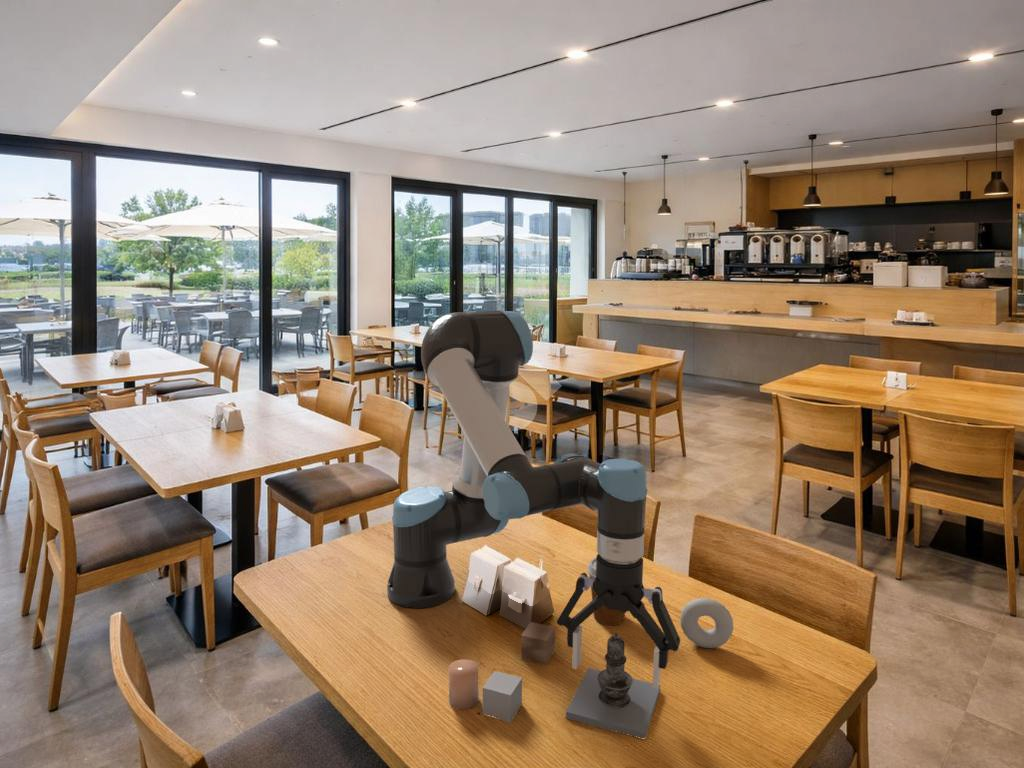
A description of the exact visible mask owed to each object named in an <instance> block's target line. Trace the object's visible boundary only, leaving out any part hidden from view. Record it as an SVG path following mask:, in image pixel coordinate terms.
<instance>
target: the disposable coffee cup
mask: <svg viewBox="0 0 1024 768" xmlns="http://www.w3.org/2000/svg"><path fill="white" fill-rule="evenodd" d="M586 570H587V572H588V573H587V574H588V576H589V577H590V578H593V579H596V557H594V558H592V559H591V560H590V562H589V564H588V566H587V569H586ZM590 591H591V601H592V600H593V599H595V598H596V596H597V594H596V592H595V591H594V589H593V587H590ZM625 615H626V613H624V612H620V611H618V610H610V609H607V607H606V606H604V605H602V606H601V607H600V608H599V609H598V610H596V611H595V612H594V613H593V618H594V620H595V621H596V622H598V623H599V624H602V625H606V626H616V625H619V624H622V623H624V620H625Z"/></svg>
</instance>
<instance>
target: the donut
mask: <svg viewBox="0 0 1024 768" xmlns="http://www.w3.org/2000/svg"><path fill="white" fill-rule="evenodd" d="M730 612H731V611H729V610H728V609H727V607H726V606H725V605H724V604H722V603H721V602H720V601H717V600H716V599H713V598H709V597H699V598H698V597H697V598H693V599H692V600H690V601H688V603H686V604H685V605H684V607H683V608H682V610H681V612H680V617H679V620H680V627H681V629H682V631H683V634H684V635H685V636H686V638H687V639H688V640H689V641H690V642H692V643H693V644H695V645H697V646H699V647H701V648H703V649H706V648H707V649H714V648H718V647H722V646H723V645H725V644H726V643H727V642H728V641H729V640H730V639H731V637H732V636H733V632H734V631H733V630H734V628H735V627H734V619H733V617H732V615H731V613H730ZM704 616H705V617H706V616H707V617H709V618H711V619H712V620H713V621H714V623H715V625H714V627H713V628H711V629H704V628H703V627H701V625H699V619H700V618H702V617H704Z"/></svg>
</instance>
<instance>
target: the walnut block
mask: <svg viewBox="0 0 1024 768" xmlns="http://www.w3.org/2000/svg"><path fill="white" fill-rule="evenodd" d="M520 638H521V639H520V641H521V642H520V644H521V646H520V647H521V649H520V651H521V653H520V659H521V660H524V661H527V662H531V663H532V662H533V663H537V664H541V665H545V666H547V664H548V663H549V662H550V660H551V658H552V656H553V655H554V653H555V652H556V651H555V650H556V627H555V626H550V625H546V624H541V623H537V622H532V621H530V622H529V624H528V625H527V627H526V628H525V629H524V631H523V632H521V635H520Z"/></svg>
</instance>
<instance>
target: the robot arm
mask: <svg viewBox="0 0 1024 768" xmlns="http://www.w3.org/2000/svg"><path fill="white" fill-rule="evenodd" d="M532 335H533V334H532V332H531V329H530V327H529V324H528V322H527V321H526V319H525V318H524V317H523V315H521V314H520V313H519V312H516V311H512V310H509V311H508V310H501V309H498V310H486V311H467V312H461V311H458V312H451V313H447V314H445V315H442V316H440V317H439V318H437V319H436V320H435V321H434V322H432V324H431V325H430V326H429V327H428V328H427V331H426V332H425V334H424V336H423V340H422V341H421V342H422V343H421V348H420V350H421V351H420V356H421V357H420V358H421V364H422V368H423V371H424V372H425V374H426V377H427V379H428V380H429V382H430V384H433V385H434V386H437V387H438V388H439V389H440V391H441V394H442V395H443V397H444V398H445V401H446V403H447V404H448V406H449V409H450V410H451V412H452V414H453V416H454V417H455V419H456V422H457V424H458V425H459V427H460V429H461V431H462V433H463V434H464V435H463V436H464V437H463V444H462V445H463V446H462V455H461V466H460V473H459V474H457V475H456V476H454V478H453V480H452V487H451V490H448V491H445V490H444V488H441V487H439V486H434V485H430V486H425V485H423V486H419V487H413V488H411V489H408V490H406V491H405V492H403V493H401V494H400V495H398V497H396V499H395V500H394V501H393V502H394V503H393V507H392V509H393V510H392V518H391V519H392V526H393V528H392V530H393V557H394V562H393V565H392V567H391V571H390V575H389V576H388V581H387V585H386V587H387V590H386V591H387V592H386V593H387V594H388V595H387V594H386V595H387V597H388V600H389V601H390V602H392V603H393V604H395V605H397V606H401V607H403V606H404V607H405V608H408V607H412V608H411V609H422V608H421V607H426V608H431V607H430V606H432V607H435V606H438V604H439V605H441V604H444V603H445V602H448V600H450V599H451V598H452V597H453V595H454V594H455V591H456V589H455V586H456V585H455V583H456V582H455V578H454V576H453V573H452V569H451V567H450V564H449V561H448V559H447V545H450V544H455V543H459V542H464V541H465V542H466V541H470V540H474V539H478V538H485V537H489V536H492V535H494V534H498V533H500V532H501V531H503V530H504V529H505V528H506V527H507V525H508V524H509V520H513V519H514V520H515V519H516V520H518V519H522V518H525V517H528V516H532V515H536V514H539V513H544V512H548V511H555V510H561V509H564V508H570V507H574V506H579V505H582V506H584V507H586V508H588V509H591V510H592V511H595V512H597V524H596V525H597V526H596V527H597V528H596V529H597V530H596V532H597V533H596V552H597V554H596V556H595V558H596V579H593V578H590V576H589V575H588V573H586V572H582V573H580V575H579V577H578V578H577V580H576V581H575V582H576V585H575V588H574V589H575V590H574V592H573V593H572V595H571V597H570V598H569V600H568V602H567V603H566V605H565V607H563V608H564V609H563V610H562V612H561V614H560V615H559V617H558V619H557V620H556V623H557V625H558V626H563V627H565V628H566V630H567V641H566V642H567V646H568V648H572V661H571V662H572V663H571V665H572V669H575V670H577V669H578V667H579V666H580V663H581V661H582V644H583V643H582V642H583V639H582V638H583V636H582V635H583V626H582V624H583V622H585V621H586V620H587V619H588V618H589V617H590V616H591V615H593V614H594V612H595V611H596V610H598V609H599V608H600V607H601V606H602V605H604V606H606V607H607V609H610V610H618V611H620V612H624V613H625V614H626V613H627V612H629V613H630V615H631V616H632V617H633V618H634V619H636V620H637V622H638V623H639V625H640V626H641V627H642V628H643V630H644V632H646V633H647V635H648V637H649V638H650V640H652V642H653V643H654V645H655V647H654V651H653V666H652V667H653V670H652V671H653V672H652V683H653V686H652V688H655V689H657V688H658V685H660V681H661V669H663V670H666V668H667V665H668V662H669V661H668V659H669V651H673V652H677V651H678V650H679V647H680V643H681V638H680V636H679V634H678V631H677V628H676V626H675V624H674V621H673V620H672V618H671V616H670V614H669V611H668V608H667V606H666V604H665V602H664V600H663V599H664V598H663V589H662V588H661V587H660V586H655V587H654V588H645V585H644V584H643V576H644V575H643V574H644V573H643V571H644V558H643V556H644V553H645V550H644V549H645V527H646V524H645V523H646V505H647V504H646V502H647V495H648V487H647V470H646V468H645V466H644V465H643V464H642V463H640V462H639V461H636V460H634V459H627V458H610V459H606V460H604V461H602V462H601V463H599V462H598V461H595V460H593V459H591V458H589V457H587V456H584V455H580V454H576V453H565V454H562V455H561V456H560V457H559V458H558V459H556V460H555V461H554V462H553V463H552V464H547V465H545V464H544V465H540V466H533V465H532V463H531V462H530V460H529V459H528V457H527V455H526V453H525V452H524V450H523V448H522V446H521V444H520V443H519V442H518V440H517V438H516V437H515V435H514V433H513V431H512V429H511V428H510V426H509V424H508V422H506V416H507V409H508V401H509V392H510V391H509V390H510V385H511V383H513V382H514V381H516V380H517V379H518V377H519V370H520V367H521V366H525V365H526V364H528V363H529V361H531V359H532V356H533V353H534V352H533V350H534V343H533V342H534V341H533V337H532ZM591 587H593V589H594V591H595V592H596V594H597V596H596V598H595V599H593V600H592V599H591V601H590V602H589V603H587V604H586V605H585V607H583V608H582V609H581V610H580V611H579V612H578V613H576V615H574V616H572V617H571V616H570V615H571V613H572V611H573V610H574V608H575V607H576V605H577V603H578V601H579V599H580V598H581V596H582V595H583V593H584V592H586V591H588V590H590V588H591ZM643 598H646V599H647V601H648V602H649V604H650V605H652V609H653V611H654V614H655V617H656V618H657V621H658V623H659V625H660V626H659V625H658V624H657V621H656V620H655V619H654V618H653V617H652V615H651V614H650V613H649V611H648V610H647V609H646V606H645V604H644V602H643V601H642V600H643Z"/></svg>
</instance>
